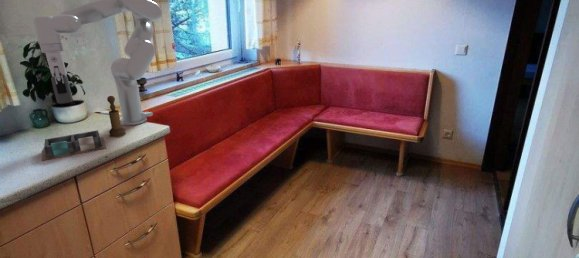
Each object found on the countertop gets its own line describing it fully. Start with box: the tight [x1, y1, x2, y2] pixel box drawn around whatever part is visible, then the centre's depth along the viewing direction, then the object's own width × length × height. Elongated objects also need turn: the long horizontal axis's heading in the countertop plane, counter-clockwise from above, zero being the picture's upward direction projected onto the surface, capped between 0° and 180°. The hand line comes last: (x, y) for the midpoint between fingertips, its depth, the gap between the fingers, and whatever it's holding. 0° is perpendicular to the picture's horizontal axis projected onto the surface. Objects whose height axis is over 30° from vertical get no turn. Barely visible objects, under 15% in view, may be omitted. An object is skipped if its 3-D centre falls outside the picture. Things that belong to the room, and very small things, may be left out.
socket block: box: [41, 130, 107, 162], centre depth 140 cm, size 22×14×6 cm, turn 122°
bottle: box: [50, 68, 74, 104], centre depth 144 cm, size 6×6×15 cm
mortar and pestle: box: [106, 95, 127, 138], centre depth 153 cm, size 7×6×18 cm
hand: (62, 91), depth 145 cm, fingers closed on bottle, 5 cm apart
